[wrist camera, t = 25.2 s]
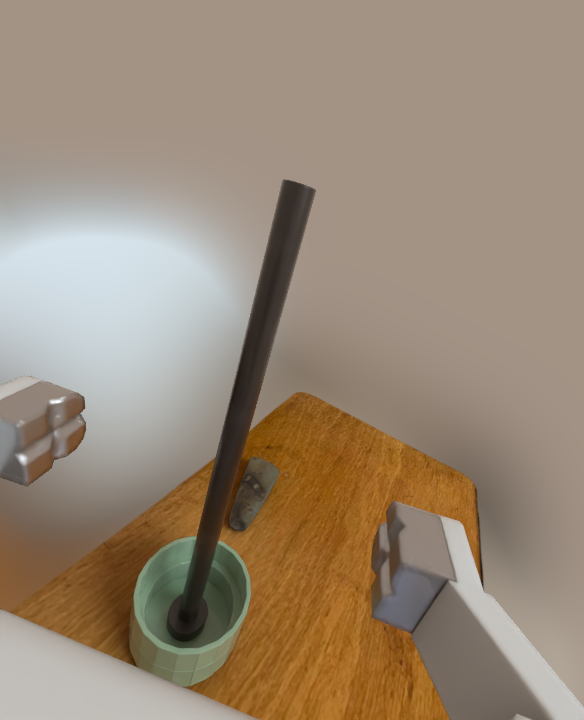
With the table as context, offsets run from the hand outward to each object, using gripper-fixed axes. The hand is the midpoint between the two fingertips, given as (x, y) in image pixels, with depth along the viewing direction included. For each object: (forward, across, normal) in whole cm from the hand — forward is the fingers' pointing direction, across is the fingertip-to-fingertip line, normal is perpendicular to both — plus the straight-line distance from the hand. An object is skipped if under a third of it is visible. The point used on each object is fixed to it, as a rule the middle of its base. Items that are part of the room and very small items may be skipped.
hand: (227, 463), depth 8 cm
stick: (+11, -4, -31) cm, 33 cm away
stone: (+29, -4, -32) cm, 43 cm away
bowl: (+11, -4, -31) cm, 34 cm away
